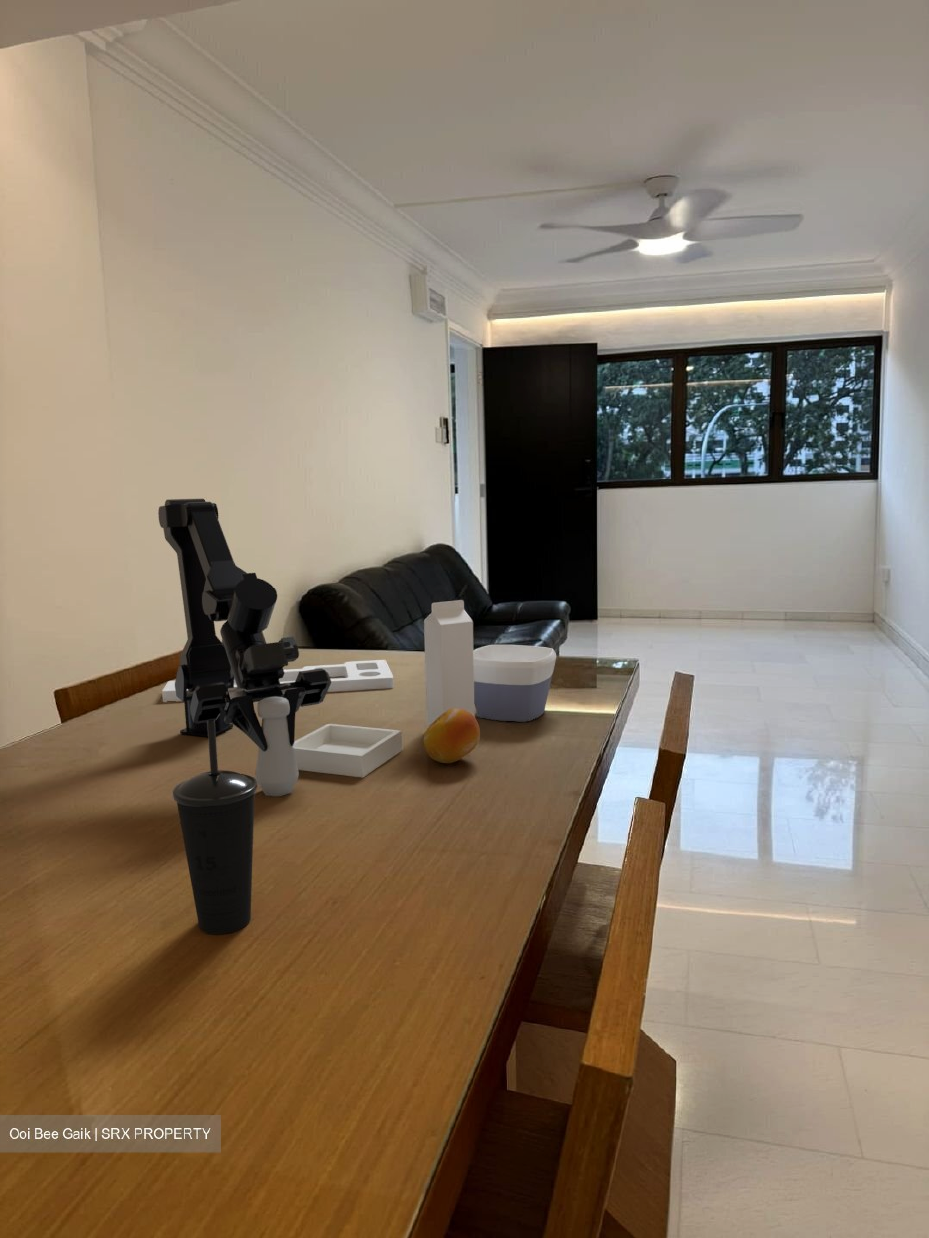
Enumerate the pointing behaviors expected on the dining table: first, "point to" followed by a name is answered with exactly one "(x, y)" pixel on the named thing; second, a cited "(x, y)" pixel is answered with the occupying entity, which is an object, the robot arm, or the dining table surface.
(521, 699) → the bowl
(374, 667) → the holder
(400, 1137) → the dining table surface
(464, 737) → the fruit
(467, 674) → the milk
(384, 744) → the dish
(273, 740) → the salt shaker
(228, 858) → the drinking cup
